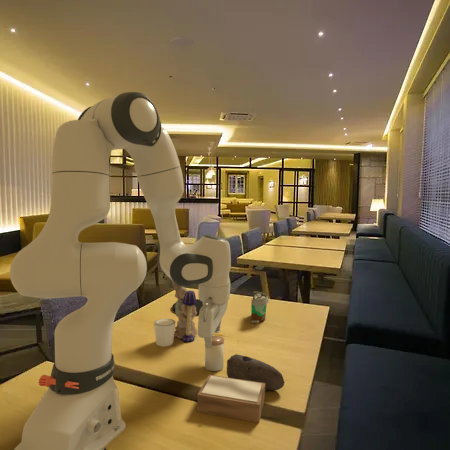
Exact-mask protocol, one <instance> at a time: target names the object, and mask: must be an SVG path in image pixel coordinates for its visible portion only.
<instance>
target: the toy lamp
mask: <svg viewBox="0 0 450 450" xmlns="http://www.w3.org/2000/svg"><path fill="white" fill-rule="evenodd" d="M196 299H197V297H196V292H195V291H194V290H186V292H185V296H184V299H183V304H184V305H187V318H186V321H187V322H186V335H184V336H183V337H182V338H181V341H182V342H183V343H185V344H186V343H187V344H188V343H190V344H191V343H192V342H195V337H193V335H191V331H190V330H191V320H192V318H191V316H192V313H191V312H192V305H196V303H197V301H196Z"/></svg>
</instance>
